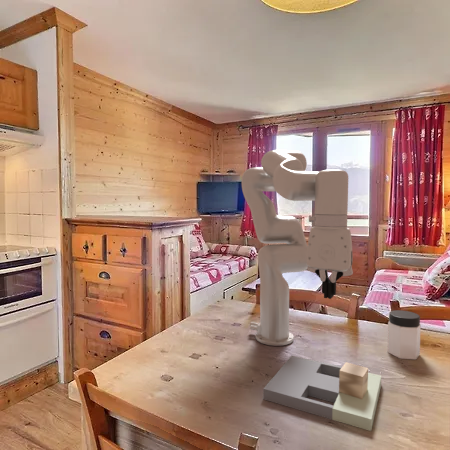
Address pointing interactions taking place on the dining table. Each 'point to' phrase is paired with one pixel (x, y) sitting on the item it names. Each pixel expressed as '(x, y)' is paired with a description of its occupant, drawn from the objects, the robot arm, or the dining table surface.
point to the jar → (404, 334)
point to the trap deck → (322, 392)
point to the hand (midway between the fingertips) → (328, 296)
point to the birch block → (353, 380)
